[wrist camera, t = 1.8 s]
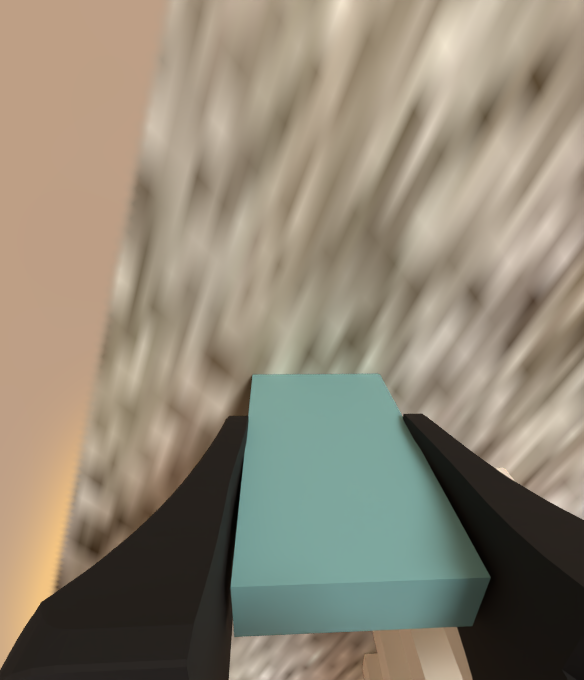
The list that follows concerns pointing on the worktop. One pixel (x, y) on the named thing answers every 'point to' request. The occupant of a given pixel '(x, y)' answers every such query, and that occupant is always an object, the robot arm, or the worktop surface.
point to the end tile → (344, 517)
